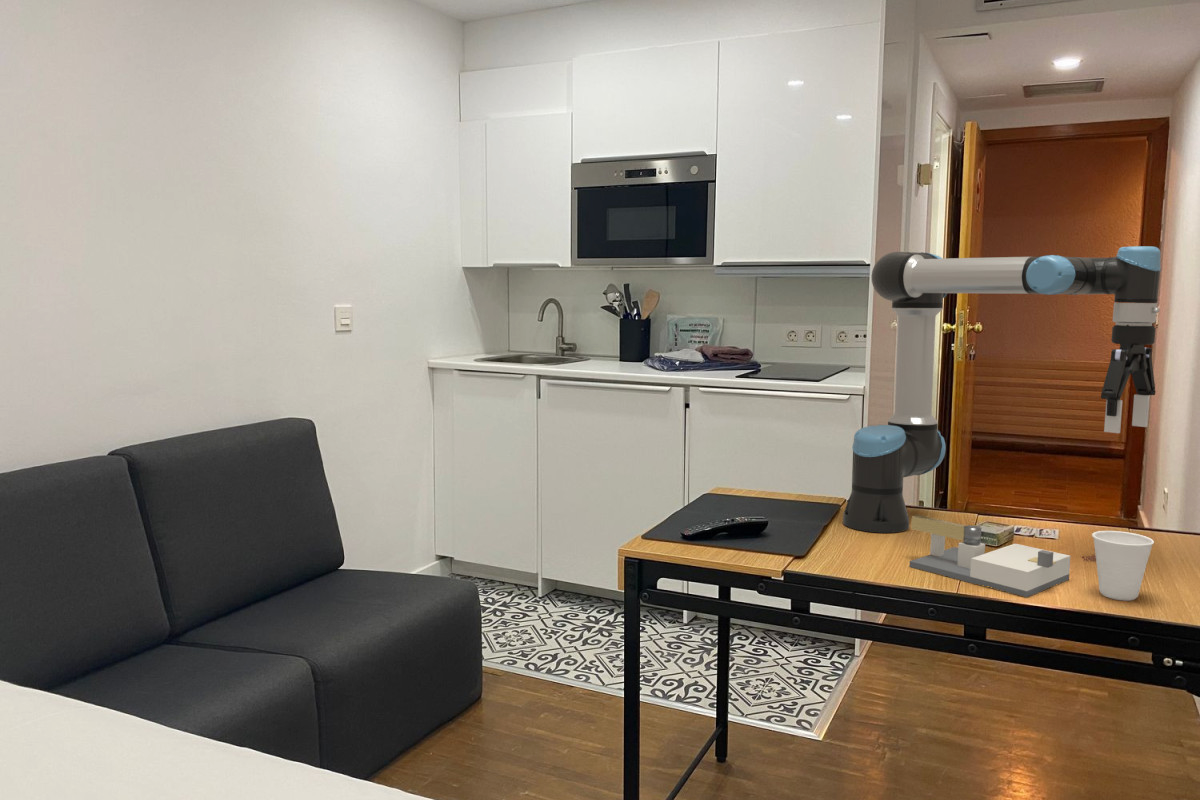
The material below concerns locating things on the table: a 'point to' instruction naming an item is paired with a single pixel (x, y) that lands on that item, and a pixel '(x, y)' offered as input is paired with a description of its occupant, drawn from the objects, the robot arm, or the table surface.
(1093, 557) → the key
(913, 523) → the latch bar
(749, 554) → the table surface
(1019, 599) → the table surface
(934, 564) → the door board
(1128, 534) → the cup
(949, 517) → the table surface
